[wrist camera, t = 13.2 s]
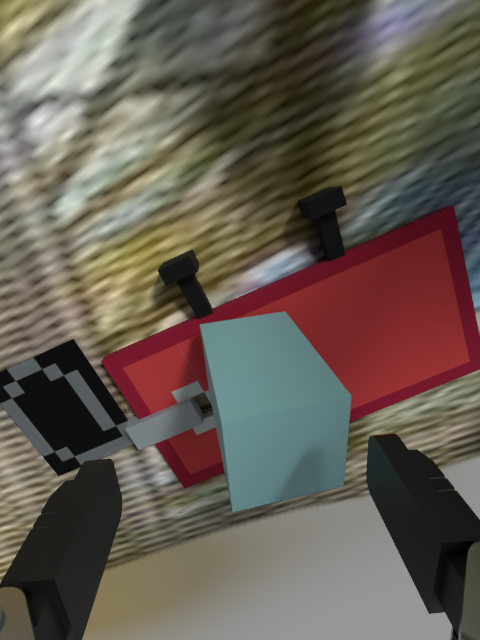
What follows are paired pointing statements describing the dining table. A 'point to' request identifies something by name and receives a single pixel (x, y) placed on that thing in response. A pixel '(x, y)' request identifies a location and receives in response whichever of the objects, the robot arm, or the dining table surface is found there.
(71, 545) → the robot arm
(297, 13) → the dining table surface
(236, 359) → the teal block
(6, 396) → the red board with handle
